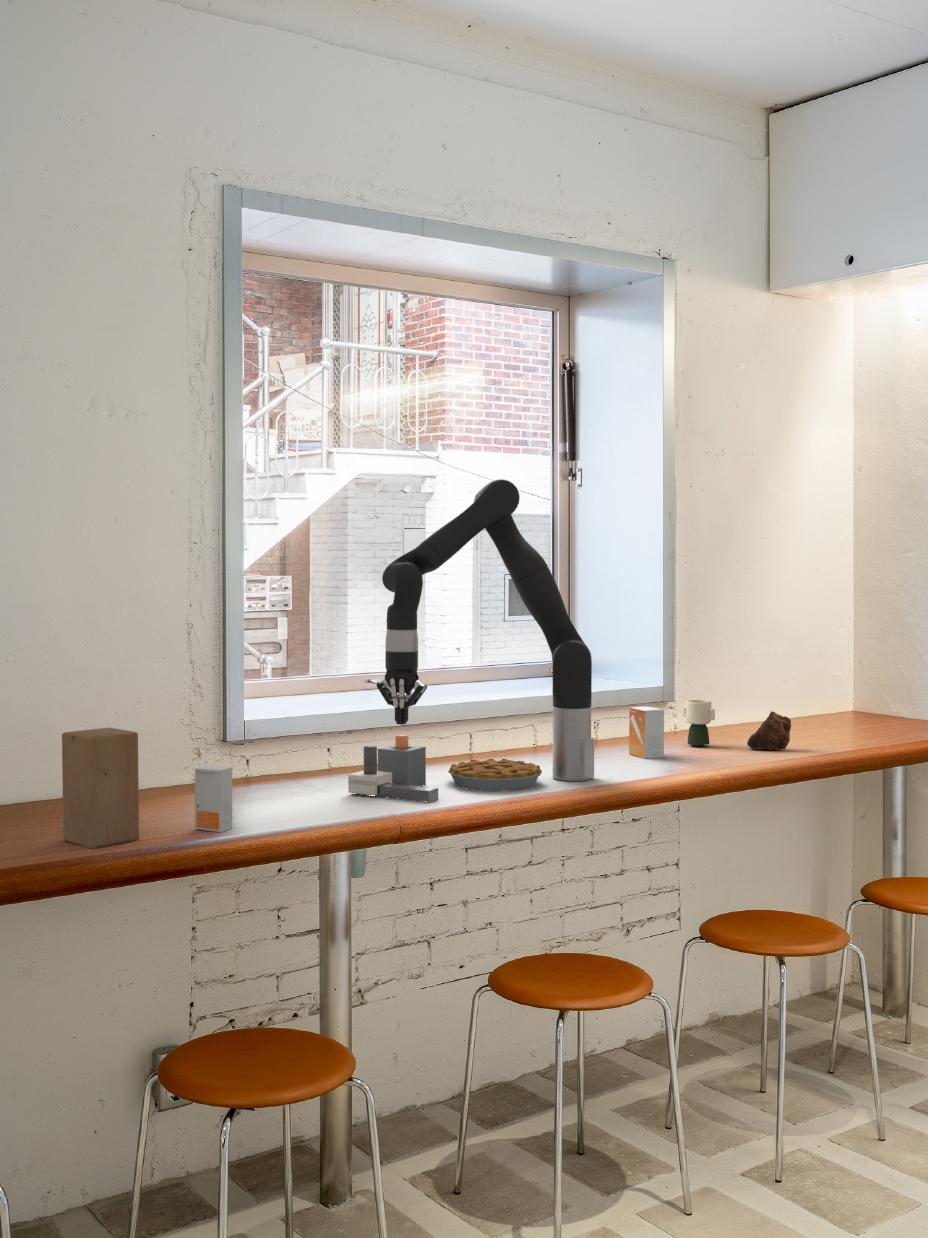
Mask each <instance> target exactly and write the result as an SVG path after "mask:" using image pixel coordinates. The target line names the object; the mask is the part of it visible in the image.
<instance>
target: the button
mask: <svg viewBox="0 0 928 1238" xmlns="http://www.w3.org/2000/svg"><path fill="white" fill-rule="evenodd" d="M394 739H395V740H394V741H395V742H394V743H395V744H394V745H395V749H404V750H405V749H408V745H409V735H408V734H397V735H395V737H394Z"/></svg>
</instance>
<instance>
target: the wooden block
mask: <svg viewBox="0 0 928 1238" xmlns="http://www.w3.org/2000/svg"><path fill="white" fill-rule="evenodd" d="M138 733H139V732H137V731H131V730H127V729H126V730H125V729H120V728H113V727H102V728H93V729H84V730H74V731H65V732H62V735H61V757H62V759H61V765H62V771H61V772H62V830H63V831H62V834H63V835H62V836H63V837H62V838H63V841H66V842H69V843H72V844H75V845H79V846H81V847H86V848H88V849H97V848H101V847H108V846H111V845H116V844H117V845H118V844H122V843H129V842H131V841H132V842H133V841H137V840H139V839H140V808H139V807H140V804H139V801H140V799H139V797H140V795H139V792H140V791H139V783H140V782H139V781H140V780H139V734H138Z"/></svg>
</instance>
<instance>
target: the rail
mask: <svg viewBox="0 0 928 1238" xmlns="http://www.w3.org/2000/svg"><path fill="white" fill-rule="evenodd" d="M357 794H358V793H356V794H355V795H357ZM366 795H367V794H362V795H361V796H366ZM375 796H379V797H378V798H384V797H388V798H387V799H392V798H399V799H398V800H401V799H406V800H405V801H410V800H415V801H414V802H419V801H427V802H426V803H428V802H429V803H431V802H430V801H432V802H434V801H433V800H435V801H437V799H438V800H439V787H432V786H415V785H405V784H395V783H384V784H381V785H378V786H377V795H375ZM375 796H374V797H375Z"/></svg>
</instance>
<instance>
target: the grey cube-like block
mask: <svg viewBox="0 0 928 1238" xmlns="http://www.w3.org/2000/svg"><path fill="white" fill-rule="evenodd" d="M426 749H427V747H426V746H423V745H421V746H420V745H411V744H410V745H409V744H408V749H405V750H404V749H395V744H393V745H392V744H391V745H388V746H384V747H379V748H377V771H383V772H392V783H395V784H405V785H415V786H423V785H425V786H426V784H427V782H426V781H427V778H426V777H427V775H426V774H427V773H426V772H427V771H426V770H427V766H426V765H427V761H426V756H427V753H426Z"/></svg>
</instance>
